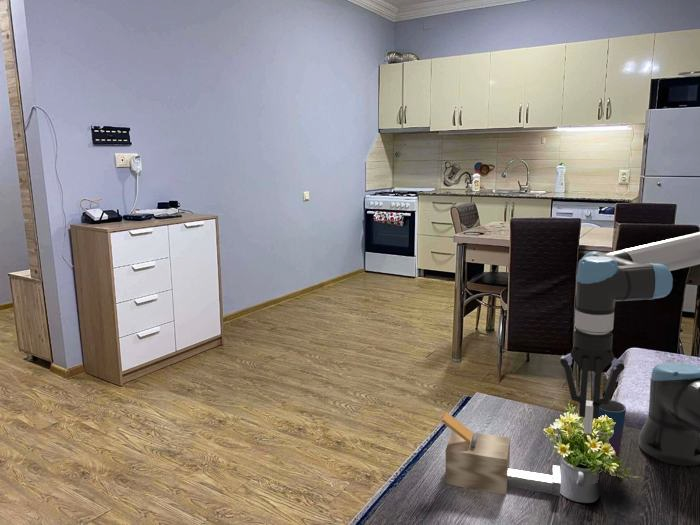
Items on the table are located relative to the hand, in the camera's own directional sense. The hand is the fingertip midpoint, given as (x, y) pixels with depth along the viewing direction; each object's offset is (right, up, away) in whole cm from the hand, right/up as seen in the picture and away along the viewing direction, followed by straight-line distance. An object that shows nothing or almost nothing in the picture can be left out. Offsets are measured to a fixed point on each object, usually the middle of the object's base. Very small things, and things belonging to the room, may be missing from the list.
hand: (587, 430), depth 117 cm
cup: (+12, -13, +17) cm, 25 cm away
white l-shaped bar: (-13, -16, +9) cm, 22 cm away
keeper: (-27, -4, +11) cm, 29 cm away
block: (-22, -15, +12) cm, 29 cm away
